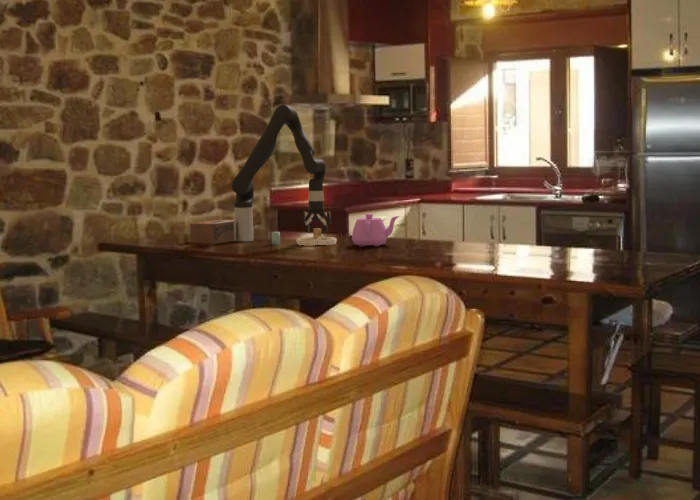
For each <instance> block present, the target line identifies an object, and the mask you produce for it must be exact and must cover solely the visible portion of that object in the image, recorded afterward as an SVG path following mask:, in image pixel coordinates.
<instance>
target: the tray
mask: <svg viewBox="0 0 700 500" xmlns="http://www.w3.org/2000/svg"><path fill="white" fill-rule="evenodd" d="M337 241H338V240H337V237H332V236H321V238H313V236H308V237H299V238H296V244H298V245H297V246H301V245H304V246H303V247H305V246H306V247H316V246H315V245H326V246H333V245H336V244H337ZM313 245H314V246H313Z"/></svg>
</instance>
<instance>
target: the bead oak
mask: <svg viewBox="0 0 700 500" xmlns="http://www.w3.org/2000/svg"><path fill="white" fill-rule="evenodd" d="M312 234H313V235H312V237H313V238H321V237H322V228H319V227H318V228H316V227H315V228H312Z"/></svg>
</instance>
